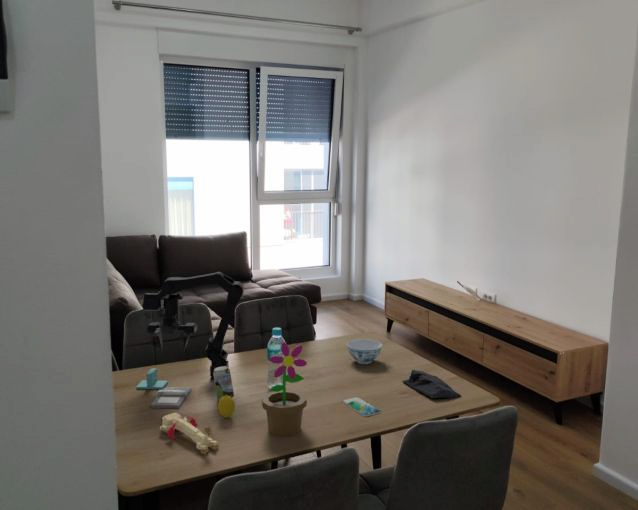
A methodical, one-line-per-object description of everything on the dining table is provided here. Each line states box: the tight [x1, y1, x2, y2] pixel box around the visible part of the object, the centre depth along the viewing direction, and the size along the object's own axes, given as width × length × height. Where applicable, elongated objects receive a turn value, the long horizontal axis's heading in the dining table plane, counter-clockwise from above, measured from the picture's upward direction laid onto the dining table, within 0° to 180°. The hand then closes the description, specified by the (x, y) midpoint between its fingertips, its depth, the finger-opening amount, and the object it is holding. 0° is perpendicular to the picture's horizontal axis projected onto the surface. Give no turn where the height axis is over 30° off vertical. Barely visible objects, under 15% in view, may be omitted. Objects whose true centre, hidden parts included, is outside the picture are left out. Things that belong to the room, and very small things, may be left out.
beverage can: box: [213, 366, 235, 401], centre depth 205 cm, size 6×7×12 cm
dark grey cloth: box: [402, 369, 462, 400], centre depth 217 cm, size 15×22×5 cm
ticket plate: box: [150, 386, 192, 409], centre depth 207 cm, size 10×16×2 cm, turn 178°
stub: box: [135, 367, 169, 390], centre depth 218 cm, size 10×7×6 cm
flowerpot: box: [261, 342, 308, 437], centre depth 181 cm, size 14×14×30 cm
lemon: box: [217, 395, 236, 419], centre depth 191 cm, size 6×6×8 cm
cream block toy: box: [159, 412, 220, 455], centre depth 176 cm, size 10×9×25 cm
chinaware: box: [346, 338, 383, 365], centre depth 246 cm, size 15×15×8 cm
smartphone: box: [341, 396, 382, 418], centre depth 200 cm, size 7×1×15 cm
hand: (172, 348), depth 225 cm, fingers open, 9 cm apart
